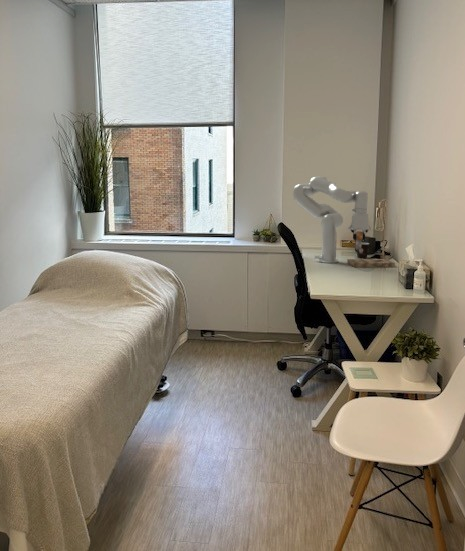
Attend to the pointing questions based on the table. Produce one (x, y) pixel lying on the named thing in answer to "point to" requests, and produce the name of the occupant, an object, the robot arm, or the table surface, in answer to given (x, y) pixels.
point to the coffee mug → (363, 250)
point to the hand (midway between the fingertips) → (358, 239)
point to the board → (370, 263)
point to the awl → (358, 239)
